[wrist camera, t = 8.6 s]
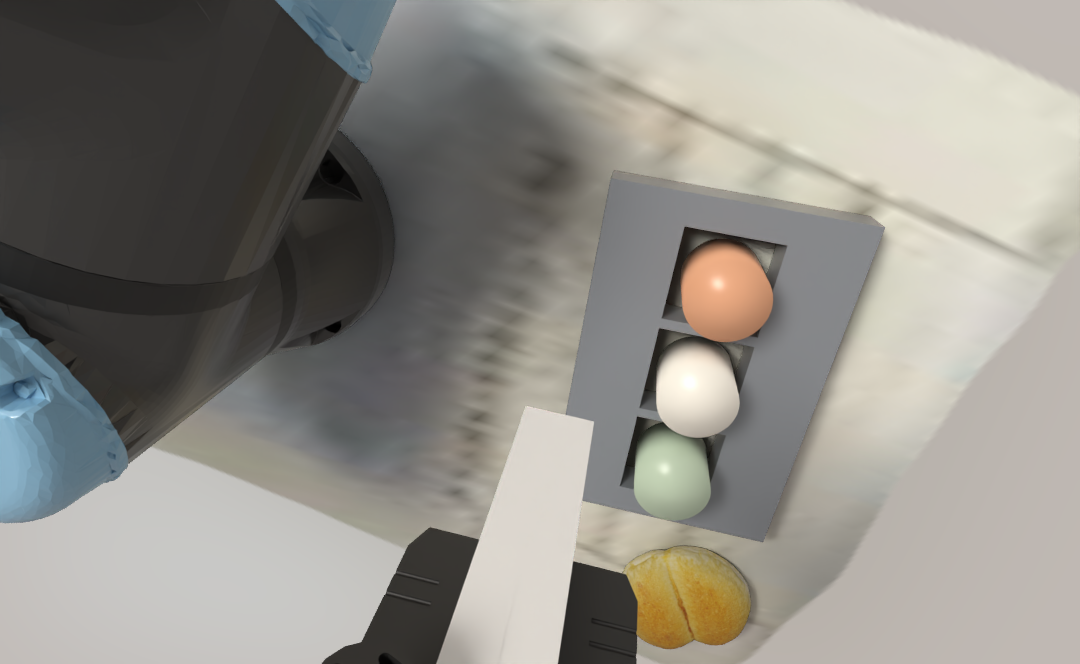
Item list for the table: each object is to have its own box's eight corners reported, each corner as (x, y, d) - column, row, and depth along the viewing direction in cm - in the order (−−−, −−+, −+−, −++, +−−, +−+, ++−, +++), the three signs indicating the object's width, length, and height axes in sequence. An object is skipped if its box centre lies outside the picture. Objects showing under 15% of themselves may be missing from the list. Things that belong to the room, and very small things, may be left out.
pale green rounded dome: (629, 471, 42) (626, 510, 38) (643, 415, 40) (642, 451, 36) (696, 486, 41) (700, 527, 38) (713, 430, 39) (719, 468, 36)
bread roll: (756, 620, 47) (764, 667, 43) (636, 628, 49) (635, 674, 46) (737, 532, 44) (744, 576, 40) (611, 545, 46) (607, 587, 43)
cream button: (649, 393, 39) (648, 428, 36) (665, 329, 37) (666, 359, 34) (720, 408, 39) (727, 445, 35) (740, 344, 37) (749, 376, 33)
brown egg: (672, 304, 37) (673, 332, 33) (690, 231, 35) (694, 252, 31) (748, 320, 36) (758, 349, 33) (771, 246, 34) (784, 269, 31)
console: (556, 471, 44) (550, 493, 42) (613, 170, 35) (610, 178, 33) (757, 517, 43) (762, 542, 41) (870, 216, 34) (885, 227, 32)
